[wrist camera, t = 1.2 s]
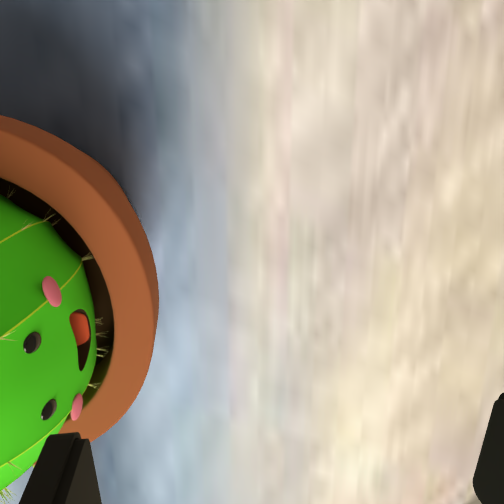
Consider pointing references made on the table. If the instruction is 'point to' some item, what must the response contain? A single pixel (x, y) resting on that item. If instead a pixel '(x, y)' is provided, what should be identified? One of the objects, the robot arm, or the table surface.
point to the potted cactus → (67, 296)
